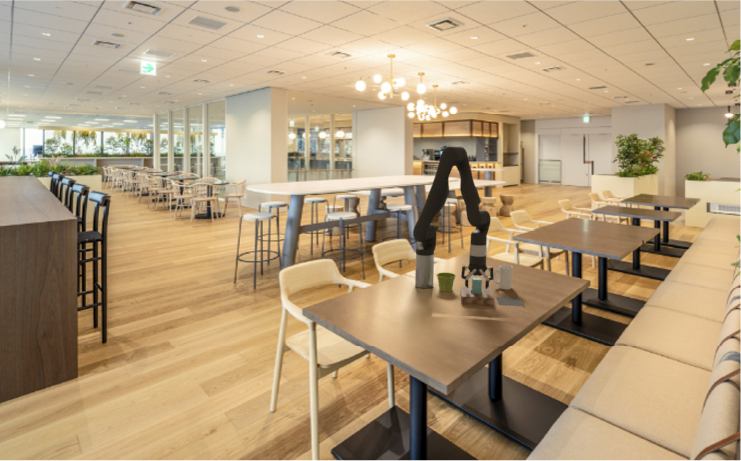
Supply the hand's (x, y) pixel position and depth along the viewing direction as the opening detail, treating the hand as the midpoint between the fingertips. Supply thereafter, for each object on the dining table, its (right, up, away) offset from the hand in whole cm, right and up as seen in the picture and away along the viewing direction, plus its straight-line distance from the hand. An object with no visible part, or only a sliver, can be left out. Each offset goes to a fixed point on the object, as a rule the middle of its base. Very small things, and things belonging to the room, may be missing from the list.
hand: (476, 287), depth 185 cm
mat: (+15, -7, -2) cm, 16 cm away
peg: (0, -6, +1) cm, 6 cm away
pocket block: (0, -7, +1) cm, 7 cm away
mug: (+17, -4, +18) cm, 25 cm away
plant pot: (-12, -4, +15) cm, 20 cm away
